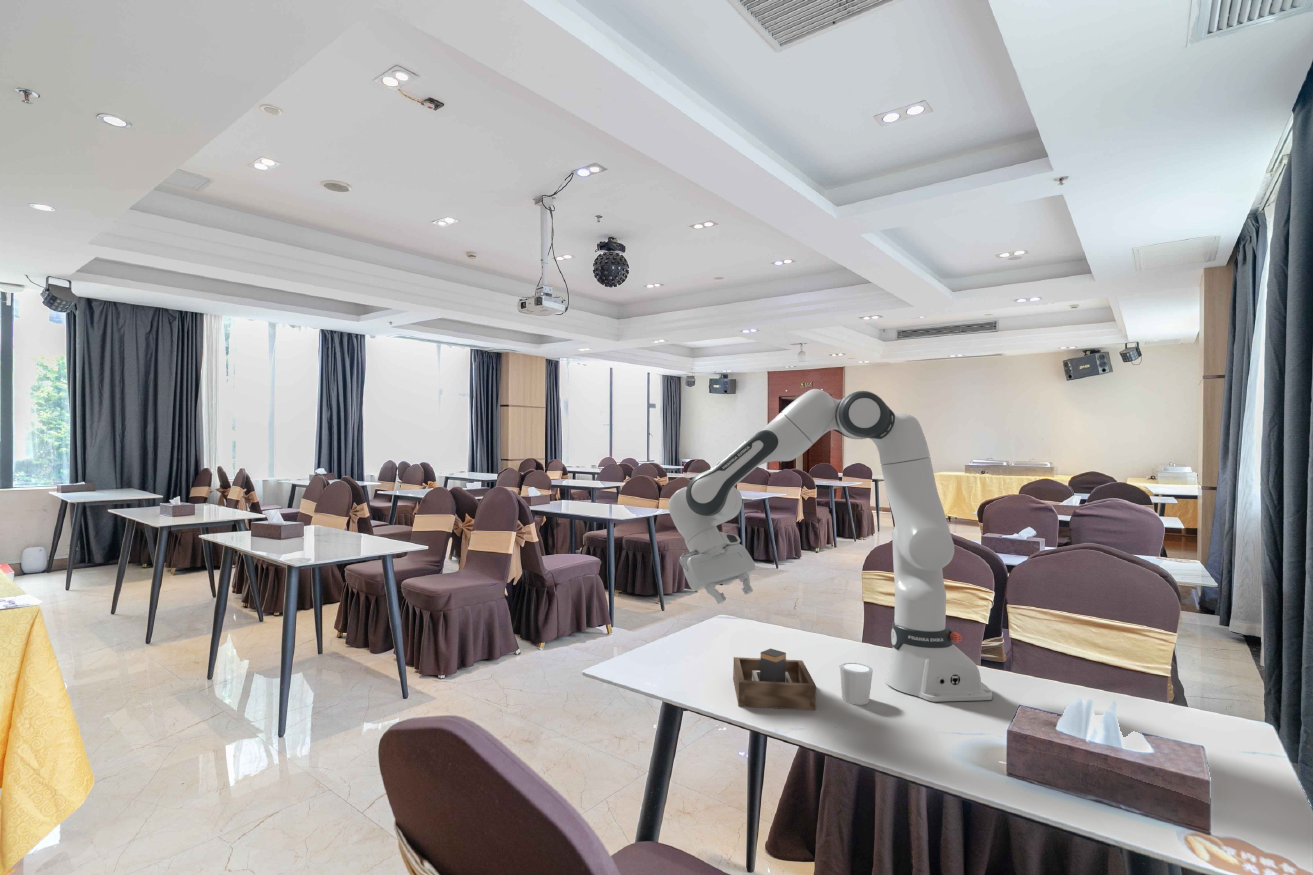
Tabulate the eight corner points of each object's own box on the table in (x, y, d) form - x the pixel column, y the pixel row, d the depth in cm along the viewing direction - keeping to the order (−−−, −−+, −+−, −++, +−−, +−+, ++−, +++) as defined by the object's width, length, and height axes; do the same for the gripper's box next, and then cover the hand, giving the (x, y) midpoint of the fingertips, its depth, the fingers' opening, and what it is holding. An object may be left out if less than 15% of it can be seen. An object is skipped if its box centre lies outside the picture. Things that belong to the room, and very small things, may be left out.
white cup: (872, 696, 140) (872, 664, 140) (871, 707, 134) (872, 674, 134) (839, 691, 142) (840, 660, 143) (838, 702, 136) (839, 670, 136)
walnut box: (801, 681, 148) (802, 660, 148) (815, 710, 132) (816, 685, 132) (733, 678, 148) (733, 657, 148) (738, 705, 132) (739, 682, 133)
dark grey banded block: (769, 683, 143) (770, 648, 143) (785, 688, 140) (786, 652, 140) (759, 688, 140) (760, 652, 140) (775, 693, 137) (776, 656, 137)
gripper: (683, 547, 147) (712, 600, 141) (742, 534, 160) (771, 582, 154) (670, 561, 151) (697, 613, 144) (728, 547, 164) (756, 594, 158)
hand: (736, 597), depth 149 cm, fingers open, 8 cm apart
